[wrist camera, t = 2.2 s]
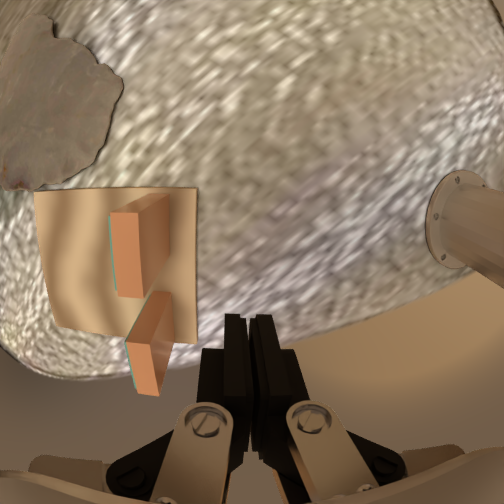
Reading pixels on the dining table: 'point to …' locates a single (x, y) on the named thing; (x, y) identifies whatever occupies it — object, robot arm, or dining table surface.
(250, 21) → the dining table surface
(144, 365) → the tile
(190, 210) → the board
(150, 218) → the tile
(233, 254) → the dining table surface
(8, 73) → the stone tool
